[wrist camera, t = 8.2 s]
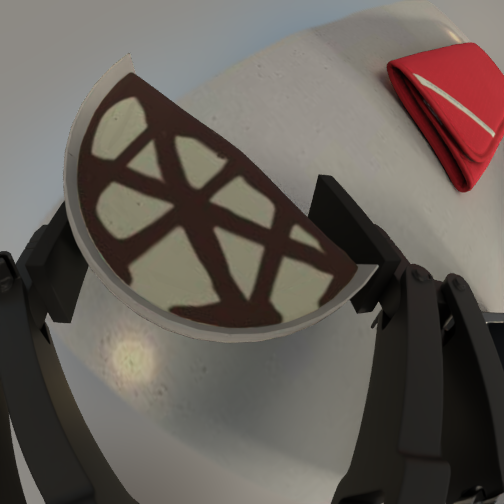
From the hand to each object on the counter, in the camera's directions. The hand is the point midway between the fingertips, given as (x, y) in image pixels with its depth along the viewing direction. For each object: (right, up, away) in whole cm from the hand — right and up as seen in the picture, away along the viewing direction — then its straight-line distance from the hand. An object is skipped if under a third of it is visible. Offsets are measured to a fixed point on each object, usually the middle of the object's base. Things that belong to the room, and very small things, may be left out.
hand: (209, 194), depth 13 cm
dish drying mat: (+35, +21, +14) cm, 43 cm away
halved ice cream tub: (-2, -3, +4) cm, 5 cm away
